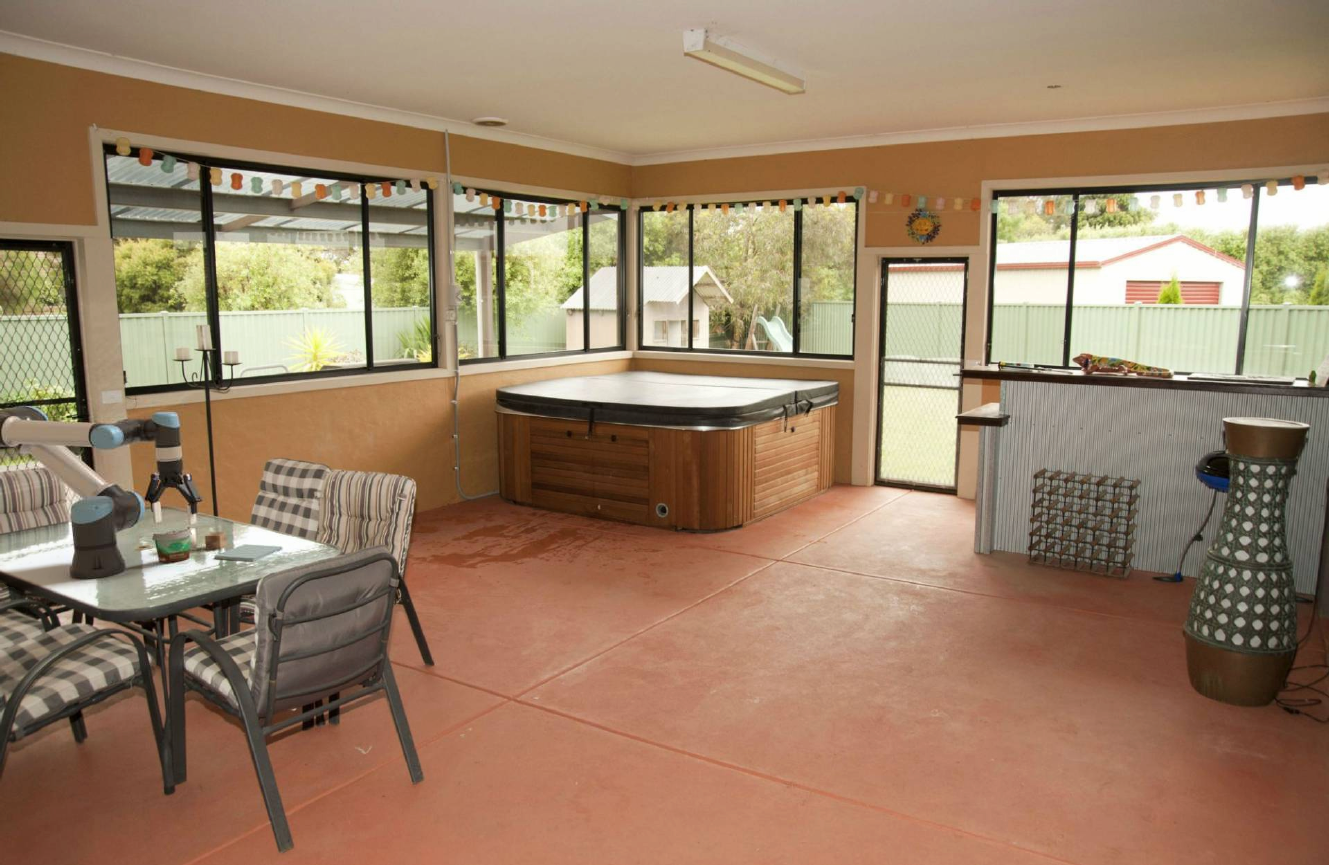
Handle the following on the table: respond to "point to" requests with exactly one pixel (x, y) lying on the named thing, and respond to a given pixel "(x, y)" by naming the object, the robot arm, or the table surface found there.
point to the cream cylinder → (192, 539)
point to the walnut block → (216, 540)
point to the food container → (173, 546)
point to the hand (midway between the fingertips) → (175, 522)
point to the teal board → (248, 552)
